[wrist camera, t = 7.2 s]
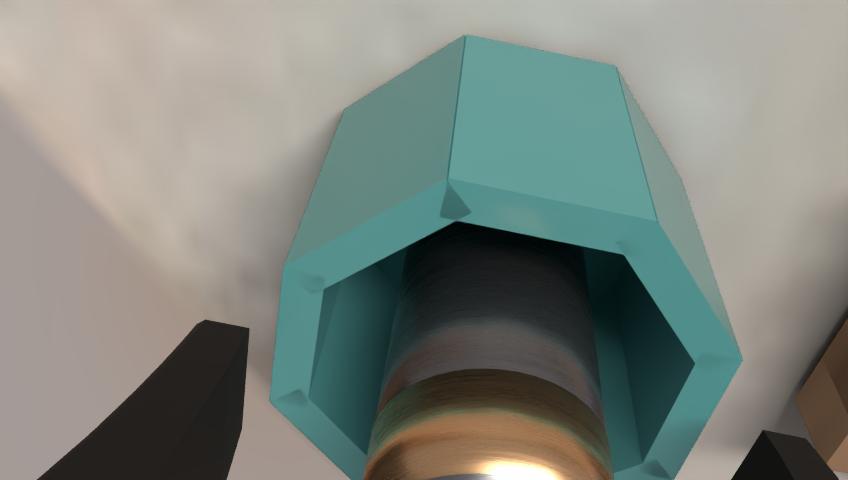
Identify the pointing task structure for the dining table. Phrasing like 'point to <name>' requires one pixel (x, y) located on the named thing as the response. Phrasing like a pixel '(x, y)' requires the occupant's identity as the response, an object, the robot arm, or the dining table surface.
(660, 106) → the dining table surface
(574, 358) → the cell
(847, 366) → the block
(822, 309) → the dining table surface
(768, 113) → the dining table surface
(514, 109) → the cup
